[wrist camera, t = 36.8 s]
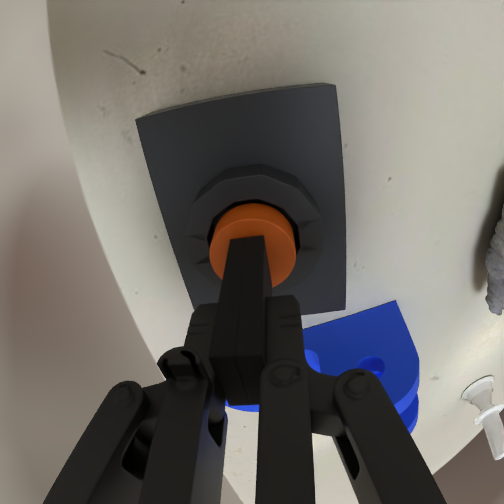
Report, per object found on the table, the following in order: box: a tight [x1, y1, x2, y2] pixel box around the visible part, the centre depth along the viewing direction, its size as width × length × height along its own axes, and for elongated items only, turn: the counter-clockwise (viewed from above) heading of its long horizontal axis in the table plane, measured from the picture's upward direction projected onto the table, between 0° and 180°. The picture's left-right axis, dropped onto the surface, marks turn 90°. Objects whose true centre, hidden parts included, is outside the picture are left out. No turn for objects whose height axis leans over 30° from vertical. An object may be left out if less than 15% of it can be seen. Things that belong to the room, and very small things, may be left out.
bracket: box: [225, 300, 419, 434], centre depth 24 cm, size 18×8×9 cm, turn 113°
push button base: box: [135, 83, 346, 315], centre depth 18 cm, size 14×10×4 cm
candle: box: [462, 376, 504, 460], centre depth 27 cm, size 5×5×12 cm
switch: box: [209, 203, 296, 288], centre depth 15 cm, size 4×4×2 cm
